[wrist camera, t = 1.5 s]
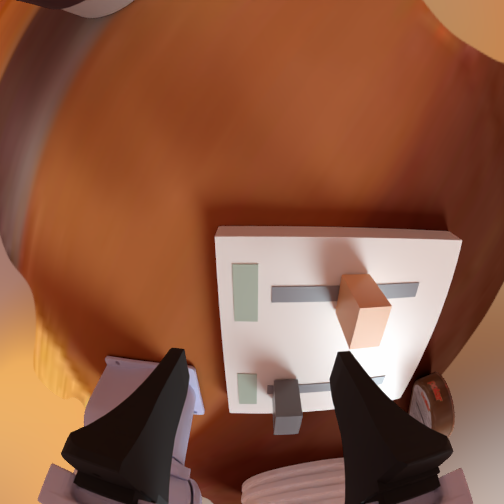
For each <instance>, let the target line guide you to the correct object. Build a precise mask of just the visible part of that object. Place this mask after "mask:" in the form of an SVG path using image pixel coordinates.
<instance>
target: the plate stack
mask: <svg viewBox="0 0 504 504" xmlns="http://www.w3.org/2000/svg"><path fill="white" fill-rule="evenodd" d="M242 493H243V494H242V497H241V502H242V504H345V468H344V458H335V459H327V460H320V461H313V462H308V463H302V464H297V465H292V466H287V467H282V468H278V469H274V470H270V471H267V472H263V473H260V474H258V475H255V476H253V477H251V478H249V479H247V480H246V481H245V482H244V483H243V484H242Z"/></svg>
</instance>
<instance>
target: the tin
mask: <svg viewBox="0 0 504 504" xmlns="http://www.w3.org/2000/svg"><path fill="white" fill-rule="evenodd" d="M408 414H409V415H410V416H412V417H413V418H415V419H416V420H418V421H419V422H421V423H422V424H424V425H426V426H427V427H429V428H431V429H433V430H435V431H437V432H439V433H441V434H444V435H446V436H447V437H448V438H449V437H450V435H451V433H452V431H453V428H454V418H455V415H454V405H453V400H452V396H451V393H450V390H449V388H448V386H447V383H446V381H445V380H444V378H443V377H442V376H441V375H440V374H439V373H438V372H433V373H431V374H430V375H427V376H425V377H422V378H420V379H418V380H416V381H415V383H414V385H413V390H412V395H411V400H410V406H409V411H408Z"/></svg>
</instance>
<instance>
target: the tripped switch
mask: <svg viewBox="0 0 504 504" xmlns="http://www.w3.org/2000/svg"><path fill="white" fill-rule="evenodd" d="M391 308H392V305H391V304H390V303H389V301H388V300H387V298H386V297H385V295H384V294H383V292H382V291H381V290H380V288H379V287H378V285H377V284H376V282H375V281H374V280H373V278H372V277H371V275H370V274H345V275H342V276H341V282H340V288H339V294H338V300H337V306H336V311H335V313H336V316H337V318H338V321H339V323H340V326H341V328H342V331H343V334H344V336H345V339H346V342H347V344H348V347H349V349H359V348H369V347H378V346H379V345H380V342H381V340H382V337H383V334H384V330H385V327H386V324H387V321H388V318H389V314H390V311H391Z"/></svg>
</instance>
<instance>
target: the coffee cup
mask: <svg viewBox="0 0 504 504" xmlns="http://www.w3.org/2000/svg"><path fill="white" fill-rule="evenodd" d="M17 1H22V2H26V3H30V4H34V5H38V6H41V7H45V8H49V9H62V10H65V11H67V12H70V13H73V14H76V15H78V16H81V17H85V18H98V17H103V16H106V15H109V14H112V13H114V12H116V11H118V10H120V9H122V8H124V7H125V6H127V5H128V4H130V3H131V2H133V1H134V0H17Z"/></svg>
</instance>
